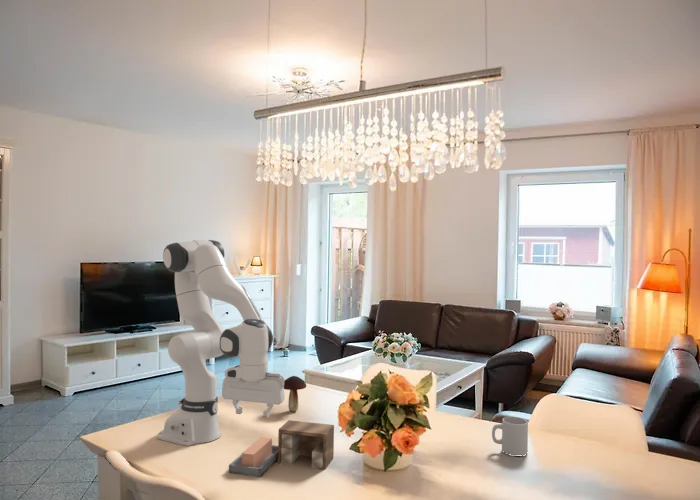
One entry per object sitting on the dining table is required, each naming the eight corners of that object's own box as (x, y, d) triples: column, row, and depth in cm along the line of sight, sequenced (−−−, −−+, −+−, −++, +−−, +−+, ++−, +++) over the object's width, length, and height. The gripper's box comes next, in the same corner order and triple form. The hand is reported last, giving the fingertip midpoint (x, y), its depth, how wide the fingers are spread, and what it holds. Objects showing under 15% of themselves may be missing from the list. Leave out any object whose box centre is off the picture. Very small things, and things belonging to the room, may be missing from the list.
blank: (241, 469, 159) (241, 453, 159) (260, 451, 173) (261, 437, 173) (253, 470, 158) (253, 454, 158) (271, 453, 172) (272, 438, 172)
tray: (228, 472, 158) (228, 465, 158) (254, 449, 176) (254, 442, 176) (260, 477, 155) (260, 469, 155) (283, 453, 173) (283, 446, 173)
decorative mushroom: (304, 415, 212) (305, 379, 212) (278, 415, 212) (278, 379, 212) (307, 407, 223) (307, 373, 223) (282, 406, 223) (282, 372, 223)
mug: (524, 448, 181) (524, 417, 181) (530, 457, 173) (530, 425, 173) (489, 446, 183) (490, 415, 182) (493, 455, 174) (494, 423, 174)
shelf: (278, 463, 165) (278, 429, 165) (288, 452, 174) (288, 420, 174) (325, 469, 161) (325, 434, 161) (333, 458, 170) (333, 425, 170)
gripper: (288, 372, 162) (287, 415, 162) (229, 366, 167) (228, 408, 167) (280, 376, 156) (279, 422, 156) (219, 371, 161) (218, 414, 161)
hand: (252, 415), depth 162 cm, fingers open, 8 cm apart
